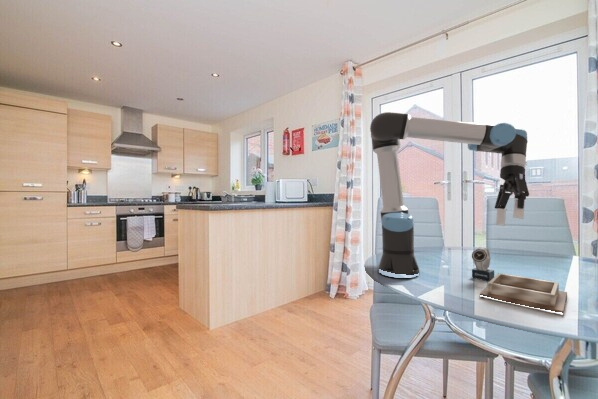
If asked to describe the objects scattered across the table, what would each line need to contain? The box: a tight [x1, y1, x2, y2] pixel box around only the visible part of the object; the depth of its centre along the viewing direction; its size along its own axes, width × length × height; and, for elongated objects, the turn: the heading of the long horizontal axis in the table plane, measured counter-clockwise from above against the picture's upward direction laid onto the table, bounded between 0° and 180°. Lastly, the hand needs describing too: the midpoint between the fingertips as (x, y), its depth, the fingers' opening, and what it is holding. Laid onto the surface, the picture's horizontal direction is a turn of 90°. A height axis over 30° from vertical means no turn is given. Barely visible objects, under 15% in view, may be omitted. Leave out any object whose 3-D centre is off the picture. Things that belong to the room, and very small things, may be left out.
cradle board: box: [479, 273, 568, 313], centre depth 82 cm, size 18×18×4 cm
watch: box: [471, 247, 495, 282], centre depth 100 cm, size 6×8×11 cm
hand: (508, 221), depth 101 cm, fingers open, 13 cm apart
